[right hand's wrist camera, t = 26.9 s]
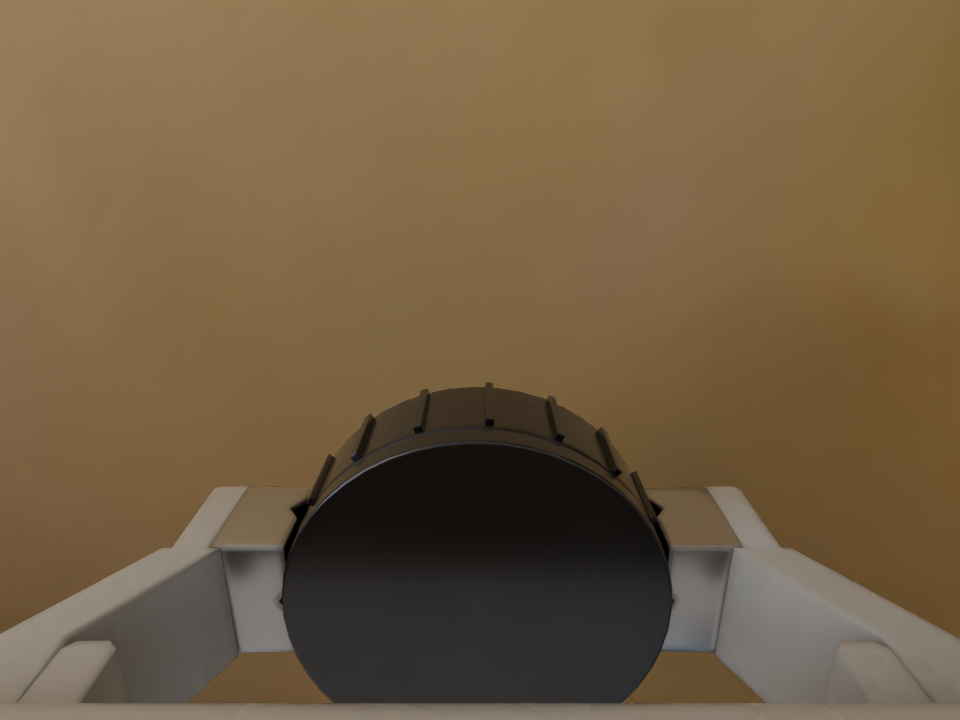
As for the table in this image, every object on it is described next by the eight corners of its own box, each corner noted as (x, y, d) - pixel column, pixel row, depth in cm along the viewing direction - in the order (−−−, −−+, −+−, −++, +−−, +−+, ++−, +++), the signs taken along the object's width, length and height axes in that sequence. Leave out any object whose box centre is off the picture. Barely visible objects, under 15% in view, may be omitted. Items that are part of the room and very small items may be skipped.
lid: (716, 529, 10) (761, 608, 8) (481, 711, 11) (481, 808, 10) (471, 306, 9) (470, 349, 7) (241, 542, 10) (195, 621, 8)
